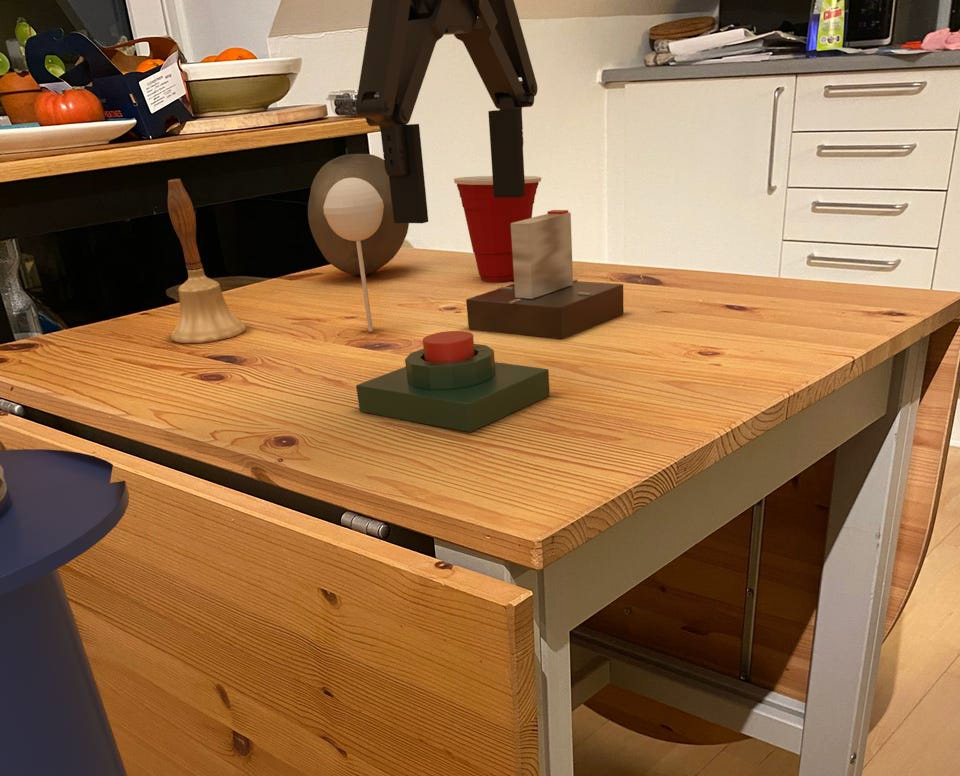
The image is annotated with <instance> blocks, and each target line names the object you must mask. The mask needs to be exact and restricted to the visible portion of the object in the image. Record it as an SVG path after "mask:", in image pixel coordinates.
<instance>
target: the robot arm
mask: <svg viewBox="0 0 960 776" xmlns="http://www.w3.org/2000/svg"><path fill="white" fill-rule="evenodd" d="M515 3H516V2H515V0H371V5H370V7H371V8H370V13H369V18H368V19H369V20H368V24H367V25H368V26H367V30H366V31H367V32H366V39H365V43H364V44H365V46H364V51H363V57H362V63H361V70H360V76H359V84H358V89H357V95H356V102H355V111H356V114H357V116H358V117H359V118H361V119H365V122H366V123H367V125H368V126H369V127H379V130H380V138H381V146H382V153H383V154H382V155H383V159H384V165H385V170H386V173H387V175H389V181H390V190H391V199H392V208H393V217H394V223H409V224H426V223H429V214H428V211H429V210H428V203H427V192H426V191H427V190H426V181H425V171H424V160H423V150H422V140H421V139H422V138H421V129H420V123H412V124H411V123H410V121H411V118H412V115H413V112H414V110H415V106H416V103H417V100H418V98H419V94H420V91H421V88H422V86H423V82H424V79H425V77H426V74H427V71H428V68H429V65H430V63H431V59H432V56H433V52H434V50H435V47H436V44H437V42H438V41H439V40H440V39H442V38H443V37H444V36H449V35H453V36H454V38H455V39H457V40H459V41H461V42H462V43H463V45H464V47H465V49H466V51H467V53H468V55H469V57H470V59H471V60H472V63H473V65H474V67H475V69H476V71H477V73H478V75H479V77H480V79H481V80H482V83H483V85H484V87H485V89H486V91H487V93H488V95H489V97H490V99H491V100H492V103H493V105H494V107H495V108H496V109H493V110H488V111H487V112H488V126H489V127H488V128H489V129H488V130H489V142H490V143H489V144H490V158H491V160H490V161H491V176H493V192H494V198H503V197H524V196H525V179H524V176H525V163H524V162H525V161H524V160H525V159H524V128H523V127H524V125H523V108H531V107H533V106H534V103H535V97H536V96H537V94H538V83H537V79H536V76H535V72H534V68H533V65H532V61H531V57H530V54H529V51H528V46H527V43H526V40H525V35H524V33H523V29H522V25H521V21H520V18H519V15H518V11H517V7H516V4H515ZM520 79H521V80H520ZM375 94H378V96H375ZM409 123H410V124H409ZM11 502H12V501H11V496H10V493H9V490H8V488H7V485H6V482H5V479H4V477H3V468H2V467H1V465H0V518H1V517H2V516H3V515H4V514H5V513H6V512H7V511H8V509H9V508H10V506H11Z"/></svg>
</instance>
